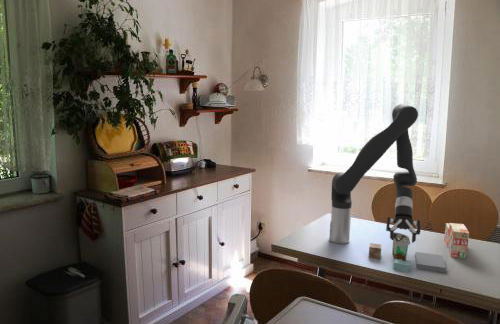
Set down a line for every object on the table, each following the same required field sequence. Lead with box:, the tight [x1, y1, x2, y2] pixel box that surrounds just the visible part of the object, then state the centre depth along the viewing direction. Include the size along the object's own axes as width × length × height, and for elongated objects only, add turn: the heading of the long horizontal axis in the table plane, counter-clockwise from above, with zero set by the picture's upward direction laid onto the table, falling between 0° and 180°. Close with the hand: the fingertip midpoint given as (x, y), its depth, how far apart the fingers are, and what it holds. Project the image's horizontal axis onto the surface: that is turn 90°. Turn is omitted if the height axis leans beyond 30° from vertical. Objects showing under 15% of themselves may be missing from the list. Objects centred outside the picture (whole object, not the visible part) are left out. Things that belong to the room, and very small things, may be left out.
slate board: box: [414, 251, 447, 273], centre depth 176 cm, size 11×14×2 cm
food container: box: [391, 231, 411, 262], centre depth 180 cm, size 12×6×10 cm, turn 168°
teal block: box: [392, 259, 411, 273], centre depth 171 cm, size 6×4×3 cm, turn 63°
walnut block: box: [368, 242, 382, 260], centre depth 183 cm, size 5×5×5 cm
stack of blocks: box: [443, 222, 470, 259], centre depth 192 cm, size 21×6×12 cm, turn 163°
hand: (402, 240), depth 182 cm, fingers open, 8 cm apart
